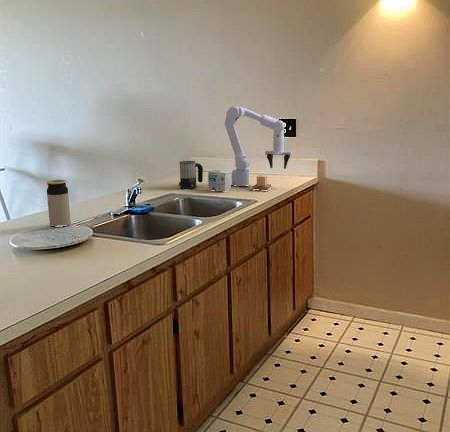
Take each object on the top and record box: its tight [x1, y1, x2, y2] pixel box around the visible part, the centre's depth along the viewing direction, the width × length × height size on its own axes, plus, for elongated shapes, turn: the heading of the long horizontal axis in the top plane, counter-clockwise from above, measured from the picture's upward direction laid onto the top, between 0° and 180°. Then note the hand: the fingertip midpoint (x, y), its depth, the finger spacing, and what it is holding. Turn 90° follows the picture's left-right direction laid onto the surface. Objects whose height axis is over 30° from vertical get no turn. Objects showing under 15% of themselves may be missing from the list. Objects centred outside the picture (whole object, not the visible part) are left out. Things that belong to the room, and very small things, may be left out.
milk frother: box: [178, 160, 204, 190], centre depth 287 cm, size 14×16×15 cm
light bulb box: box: [207, 169, 232, 192], centre depth 276 cm, size 11×7×11 cm, turn 62°
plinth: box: [252, 183, 272, 190], centre depth 278 cm, size 8×8×2 cm
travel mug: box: [46, 179, 72, 227], centre depth 205 cm, size 8×8×18 cm
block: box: [256, 175, 268, 186], centre depth 276 cm, size 4×4×5 cm
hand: (278, 168), depth 284 cm, fingers open, 7 cm apart
